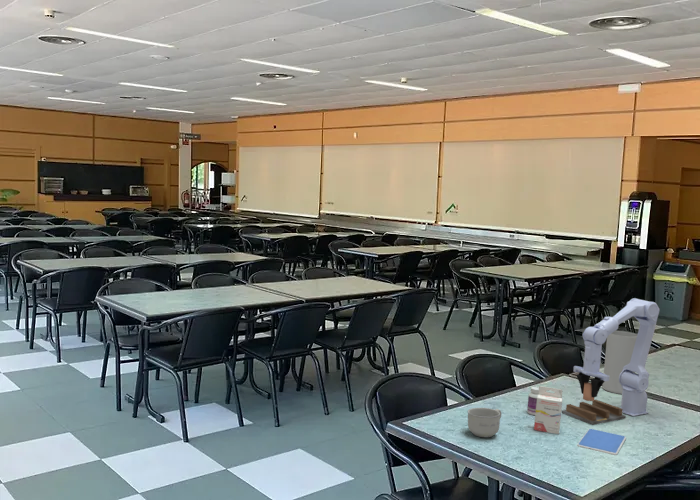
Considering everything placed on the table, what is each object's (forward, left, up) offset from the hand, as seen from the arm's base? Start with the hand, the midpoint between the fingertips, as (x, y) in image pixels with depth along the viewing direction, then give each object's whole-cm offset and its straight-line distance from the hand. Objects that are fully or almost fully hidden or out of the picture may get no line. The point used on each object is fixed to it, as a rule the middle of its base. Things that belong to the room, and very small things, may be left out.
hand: (589, 395), depth 250 cm
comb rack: (-4, 0, -8) cm, 9 cm away
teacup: (+49, -2, -9) cm, 50 cm away
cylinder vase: (-44, -19, -9) cm, 49 cm away
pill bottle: (+16, -11, -9) cm, 21 cm away
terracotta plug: (0, 0, -2) cm, 2 cm away
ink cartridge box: (+26, +4, -9) cm, 28 cm away
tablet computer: (+17, +20, -9) cm, 28 cm away
